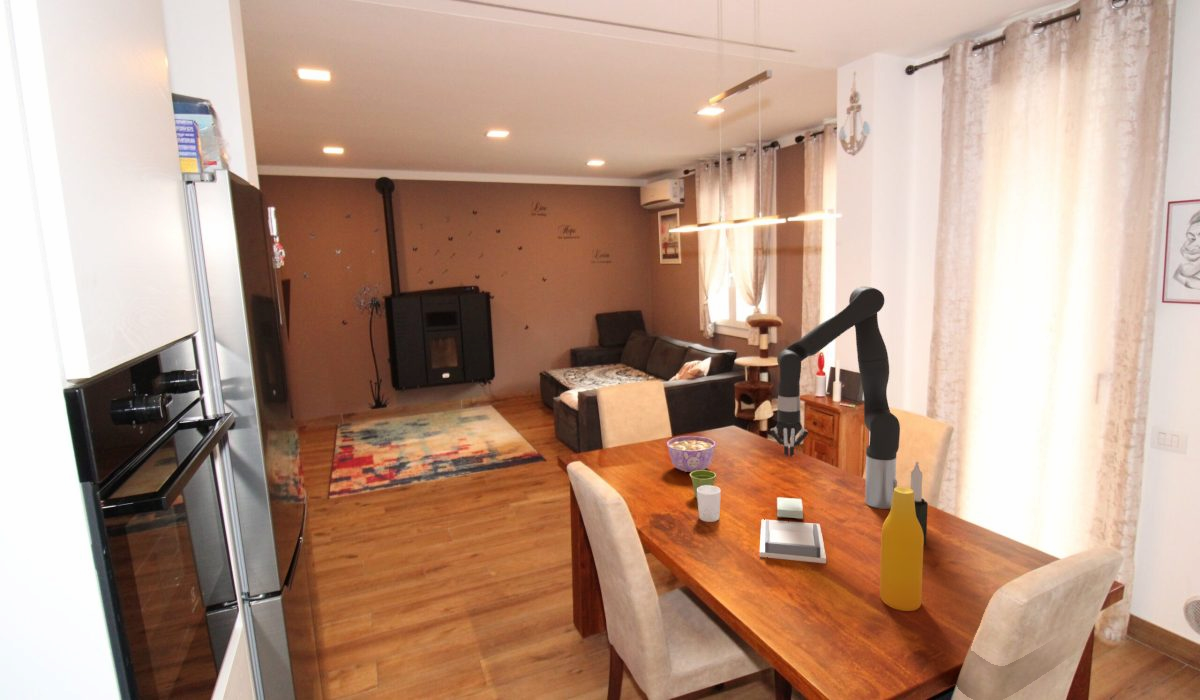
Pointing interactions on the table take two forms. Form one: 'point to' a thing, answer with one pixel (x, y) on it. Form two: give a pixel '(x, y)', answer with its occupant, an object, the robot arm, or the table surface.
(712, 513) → the white cup
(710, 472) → the plant pot
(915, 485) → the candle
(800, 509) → the grey rectangular block
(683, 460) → the bowl of food
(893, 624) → the table surface
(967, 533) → the table surface
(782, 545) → the loading dock
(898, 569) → the beer bottle
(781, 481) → the table surface
